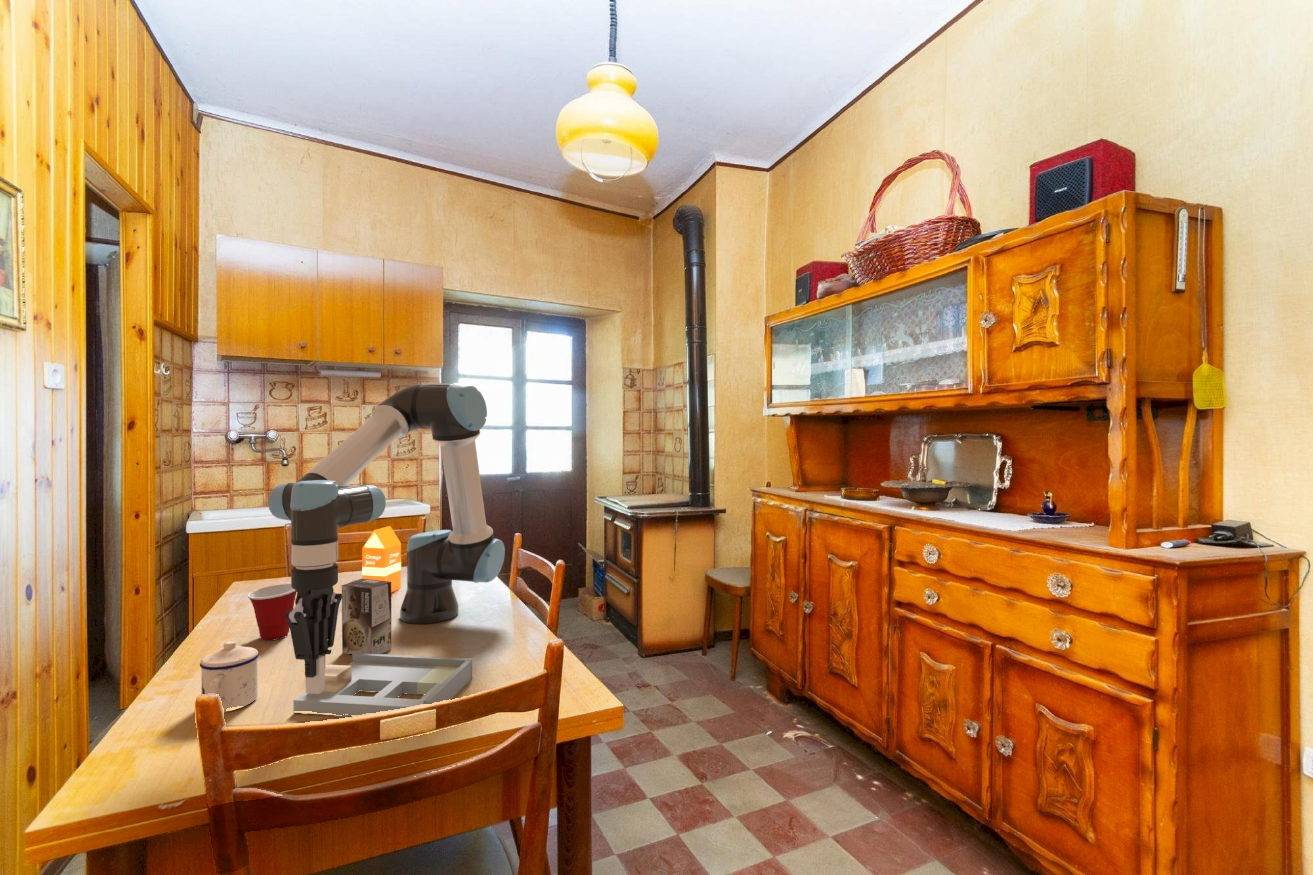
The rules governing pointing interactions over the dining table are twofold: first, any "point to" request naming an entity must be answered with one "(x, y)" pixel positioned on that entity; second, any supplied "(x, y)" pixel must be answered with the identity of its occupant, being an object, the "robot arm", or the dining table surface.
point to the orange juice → (382, 557)
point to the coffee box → (366, 617)
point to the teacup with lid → (231, 674)
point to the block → (337, 677)
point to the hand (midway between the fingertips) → (315, 691)
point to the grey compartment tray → (391, 684)
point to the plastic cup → (273, 609)
